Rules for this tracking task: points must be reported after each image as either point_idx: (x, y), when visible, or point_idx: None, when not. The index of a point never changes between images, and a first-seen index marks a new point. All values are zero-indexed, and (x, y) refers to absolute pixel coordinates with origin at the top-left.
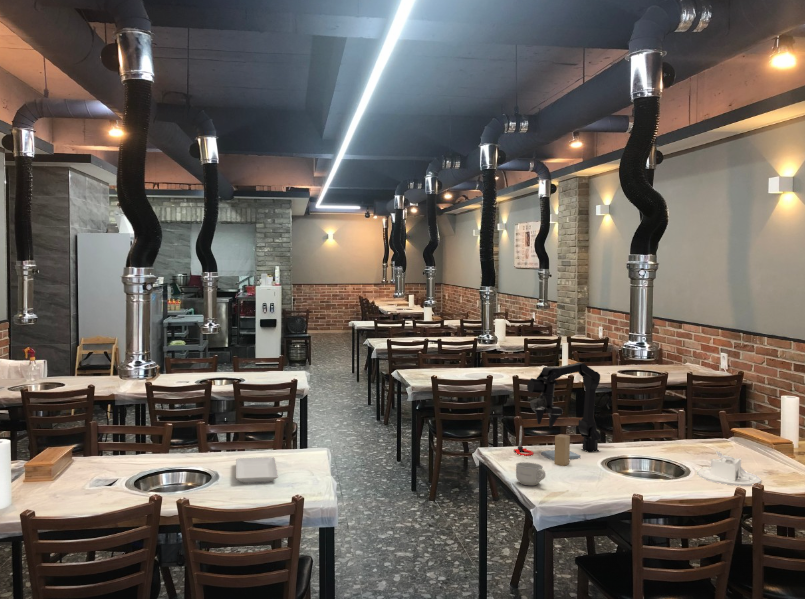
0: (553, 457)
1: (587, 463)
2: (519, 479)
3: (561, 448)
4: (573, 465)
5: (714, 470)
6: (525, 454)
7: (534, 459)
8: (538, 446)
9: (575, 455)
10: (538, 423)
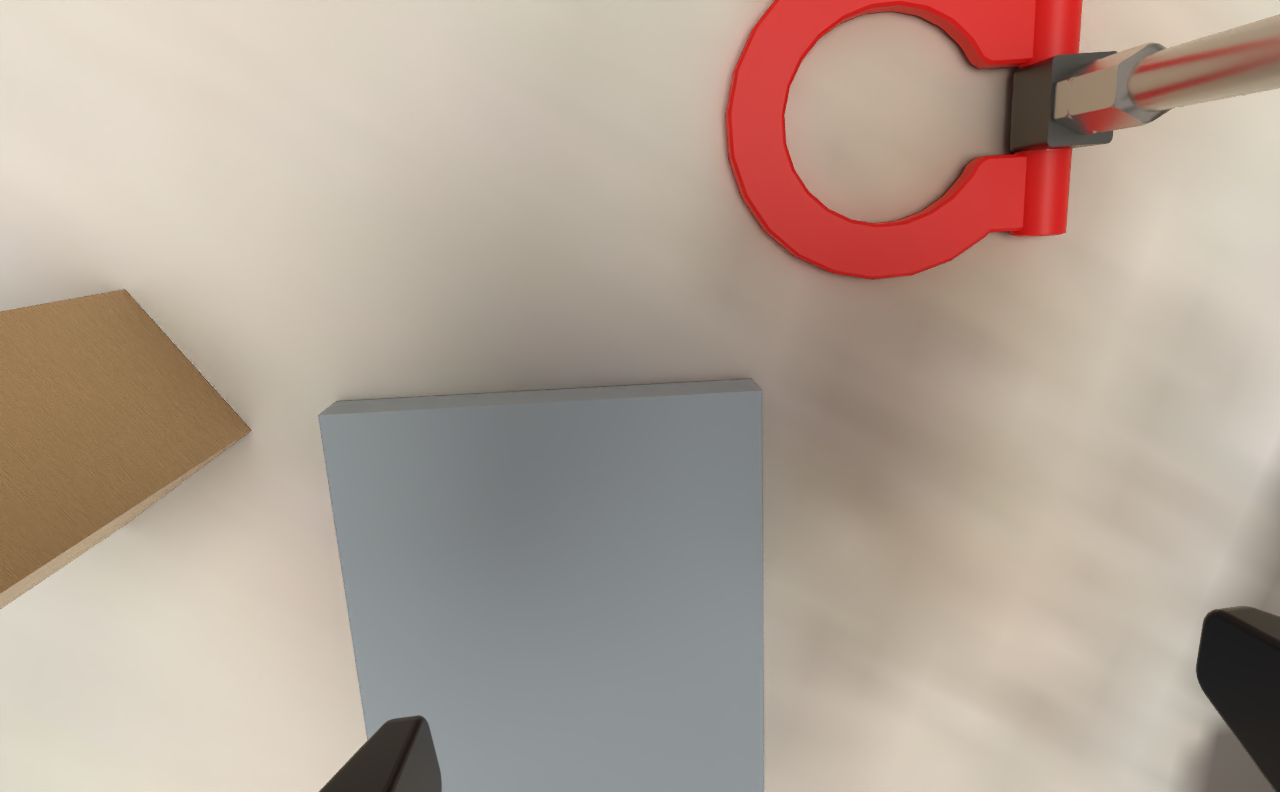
0: (363, 410)
1: (128, 780)
2: None
3: None
4: None
5: None
6: (748, 56)
7: (478, 101)
8: (1200, 572)
9: None
10: (1220, 624)
